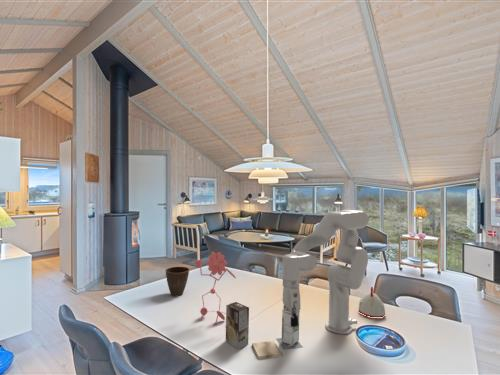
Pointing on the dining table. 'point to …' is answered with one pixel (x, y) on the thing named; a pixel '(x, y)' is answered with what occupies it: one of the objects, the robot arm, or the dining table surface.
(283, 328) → the syrup box
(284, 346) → the plaque
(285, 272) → the robot arm
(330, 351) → the dining table surface
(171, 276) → the plant pot
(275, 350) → the tray
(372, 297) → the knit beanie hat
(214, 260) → the figurine
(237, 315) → the coffee box
